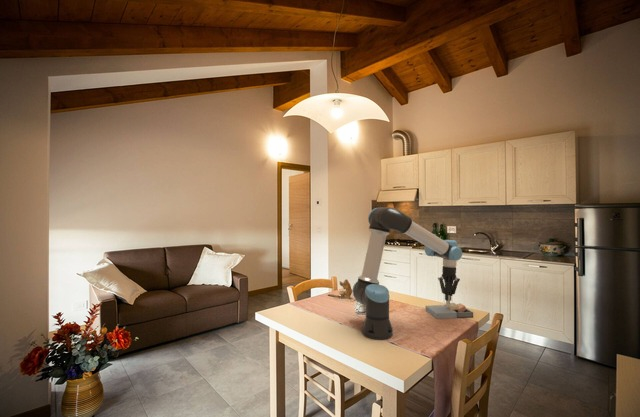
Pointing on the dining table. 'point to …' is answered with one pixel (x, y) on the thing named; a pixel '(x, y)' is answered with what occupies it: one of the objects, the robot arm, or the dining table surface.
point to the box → (464, 314)
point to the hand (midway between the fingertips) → (447, 306)
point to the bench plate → (441, 312)
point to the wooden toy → (344, 292)
